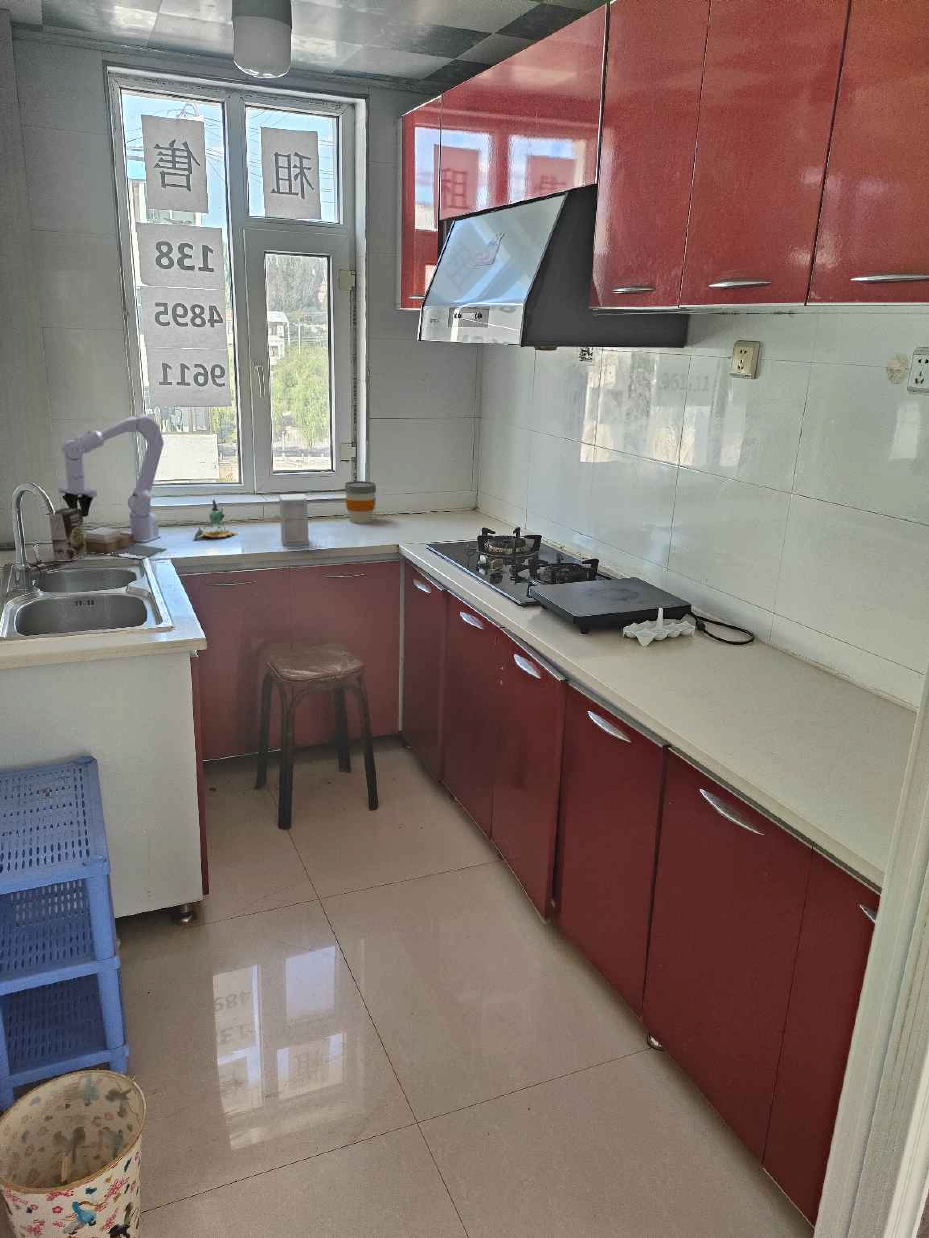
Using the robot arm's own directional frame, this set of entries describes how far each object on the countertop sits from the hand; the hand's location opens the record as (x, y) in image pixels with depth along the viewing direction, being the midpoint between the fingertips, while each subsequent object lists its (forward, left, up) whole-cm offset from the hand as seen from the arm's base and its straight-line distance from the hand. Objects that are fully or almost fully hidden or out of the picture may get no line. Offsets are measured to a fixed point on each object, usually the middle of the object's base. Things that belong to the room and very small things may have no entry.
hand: (80, 515), depth 306 cm
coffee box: (+15, +8, -11) cm, 20 cm away
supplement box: (-36, +63, -11) cm, 73 cm away
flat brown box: (0, +10, -10) cm, 14 cm away
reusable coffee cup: (-77, +70, -11) cm, 105 cm away
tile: (0, +9, -6) cm, 11 cm away
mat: (0, +23, -10) cm, 25 cm away
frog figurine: (-30, +33, -11) cm, 46 cm away
